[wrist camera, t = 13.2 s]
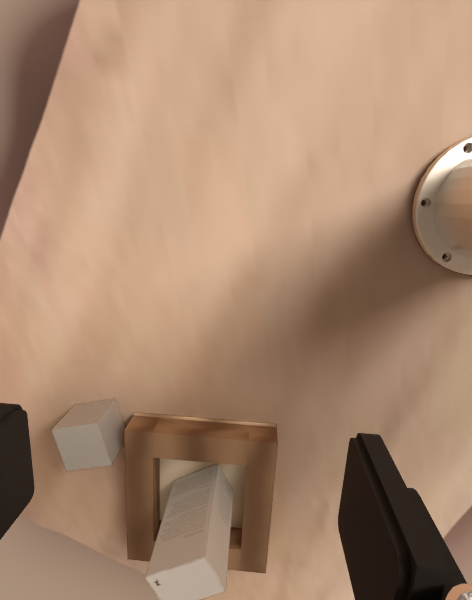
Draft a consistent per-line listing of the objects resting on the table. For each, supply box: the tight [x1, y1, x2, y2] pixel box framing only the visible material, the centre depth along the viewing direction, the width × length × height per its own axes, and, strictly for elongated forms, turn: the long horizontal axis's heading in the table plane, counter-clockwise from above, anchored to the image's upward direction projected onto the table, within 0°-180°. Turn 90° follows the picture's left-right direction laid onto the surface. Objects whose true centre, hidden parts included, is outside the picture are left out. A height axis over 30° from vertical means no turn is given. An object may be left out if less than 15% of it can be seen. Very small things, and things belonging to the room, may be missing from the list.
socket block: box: [124, 412, 278, 573], centre depth 43 cm, size 16×17×4 cm
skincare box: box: [145, 463, 233, 600], centre depth 38 cm, size 6×4×12 cm
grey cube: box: [52, 398, 125, 471], centre depth 41 cm, size 5×5×5 cm
